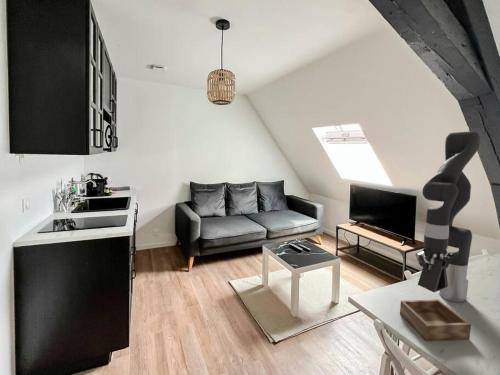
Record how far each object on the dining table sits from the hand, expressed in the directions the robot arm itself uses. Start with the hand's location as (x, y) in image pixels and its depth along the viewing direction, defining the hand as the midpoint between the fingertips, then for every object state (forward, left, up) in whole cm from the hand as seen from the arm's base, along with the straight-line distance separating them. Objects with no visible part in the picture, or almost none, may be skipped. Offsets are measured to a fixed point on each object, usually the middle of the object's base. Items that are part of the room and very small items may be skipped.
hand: (432, 277), depth 102 cm
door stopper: (0, 0, -3) cm, 3 cm away
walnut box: (0, +1, -19) cm, 19 cm away
